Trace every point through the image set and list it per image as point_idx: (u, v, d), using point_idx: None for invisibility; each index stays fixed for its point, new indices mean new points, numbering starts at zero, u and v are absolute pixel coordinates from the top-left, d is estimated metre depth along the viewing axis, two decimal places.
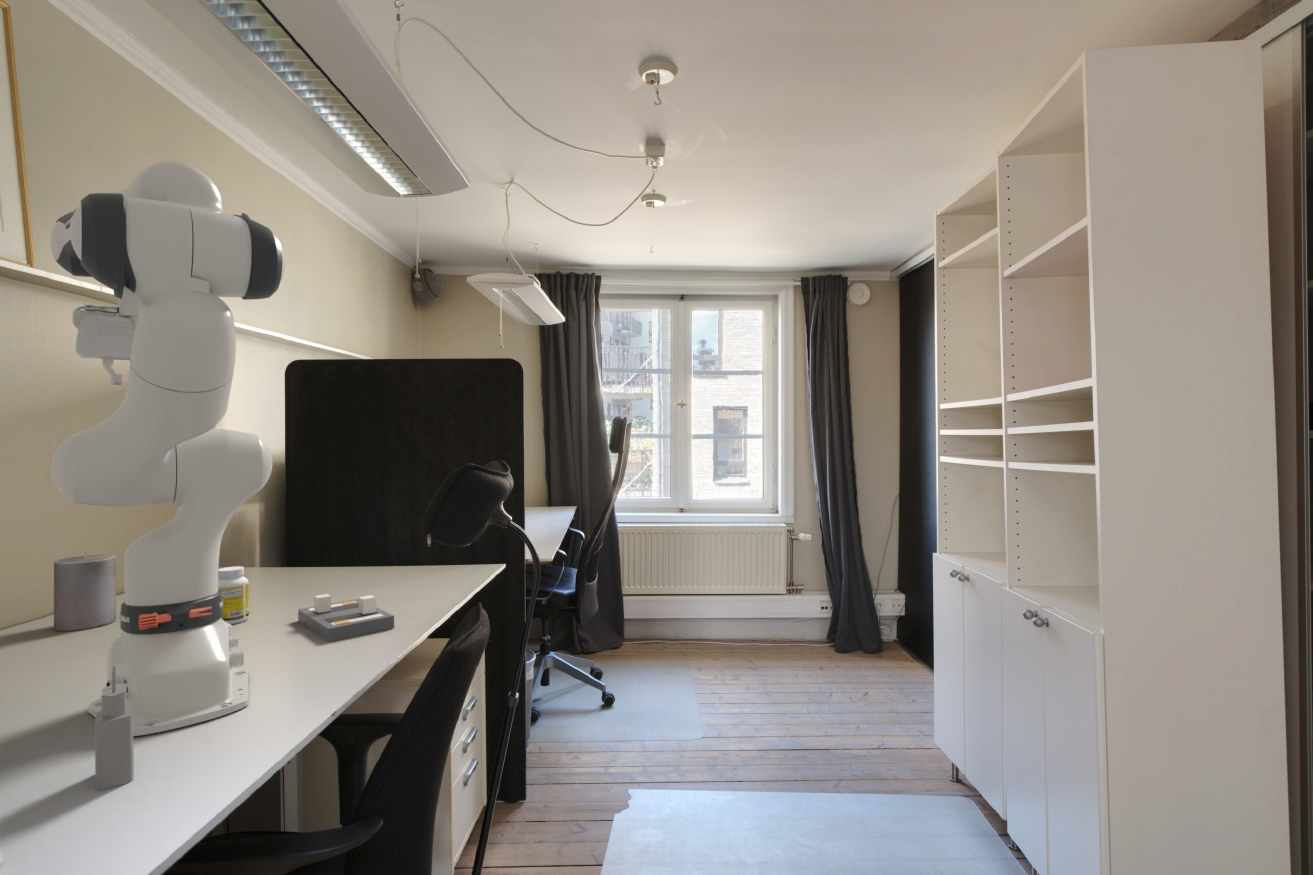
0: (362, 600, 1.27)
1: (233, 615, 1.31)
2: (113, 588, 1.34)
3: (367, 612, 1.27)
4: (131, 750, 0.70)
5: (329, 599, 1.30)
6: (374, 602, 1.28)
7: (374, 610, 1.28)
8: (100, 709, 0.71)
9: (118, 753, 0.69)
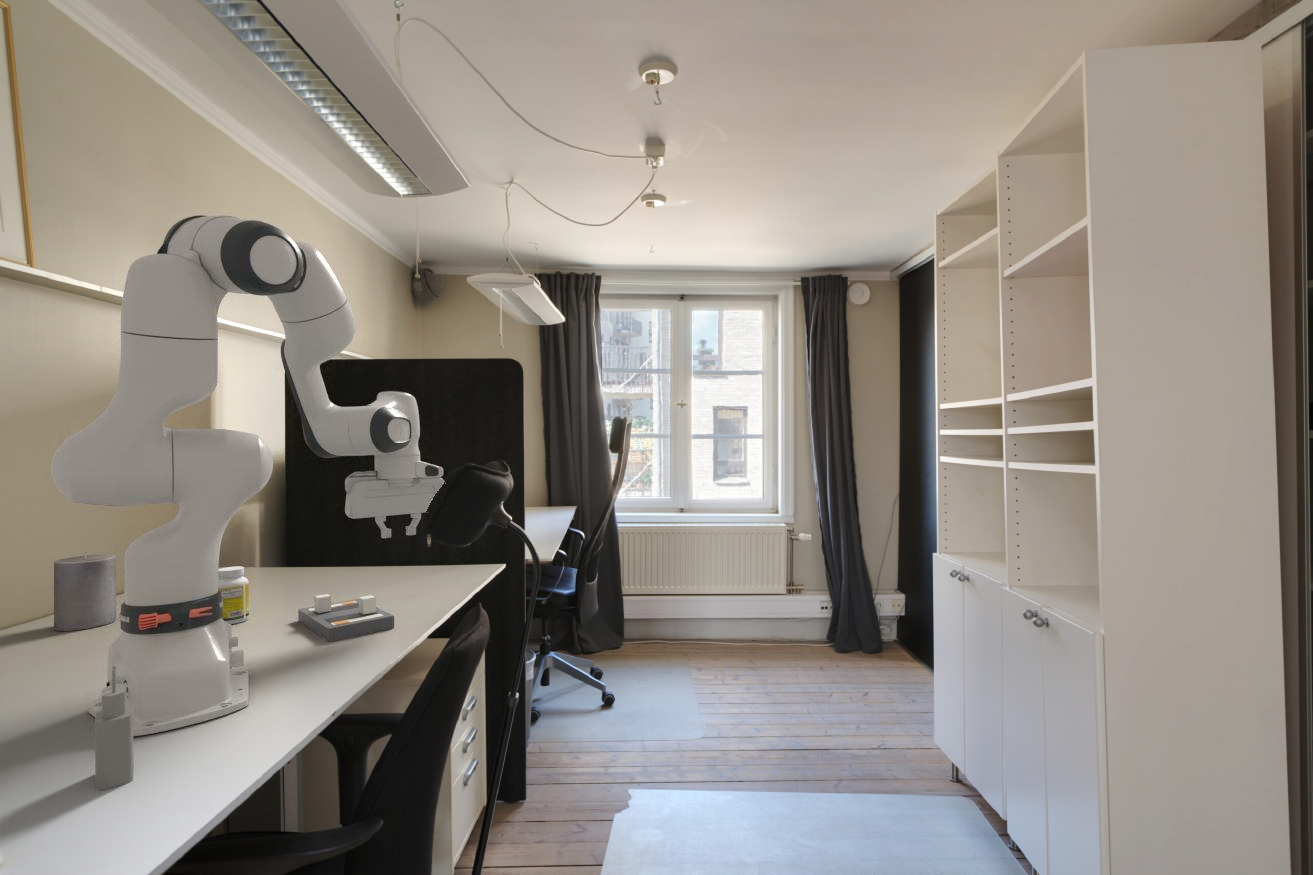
0: (362, 600, 1.27)
1: (233, 615, 1.31)
2: (113, 588, 1.34)
3: (367, 612, 1.27)
4: (131, 750, 0.70)
5: (329, 599, 1.30)
6: (374, 602, 1.28)
7: (374, 610, 1.28)
8: (100, 709, 0.71)
9: (118, 753, 0.69)
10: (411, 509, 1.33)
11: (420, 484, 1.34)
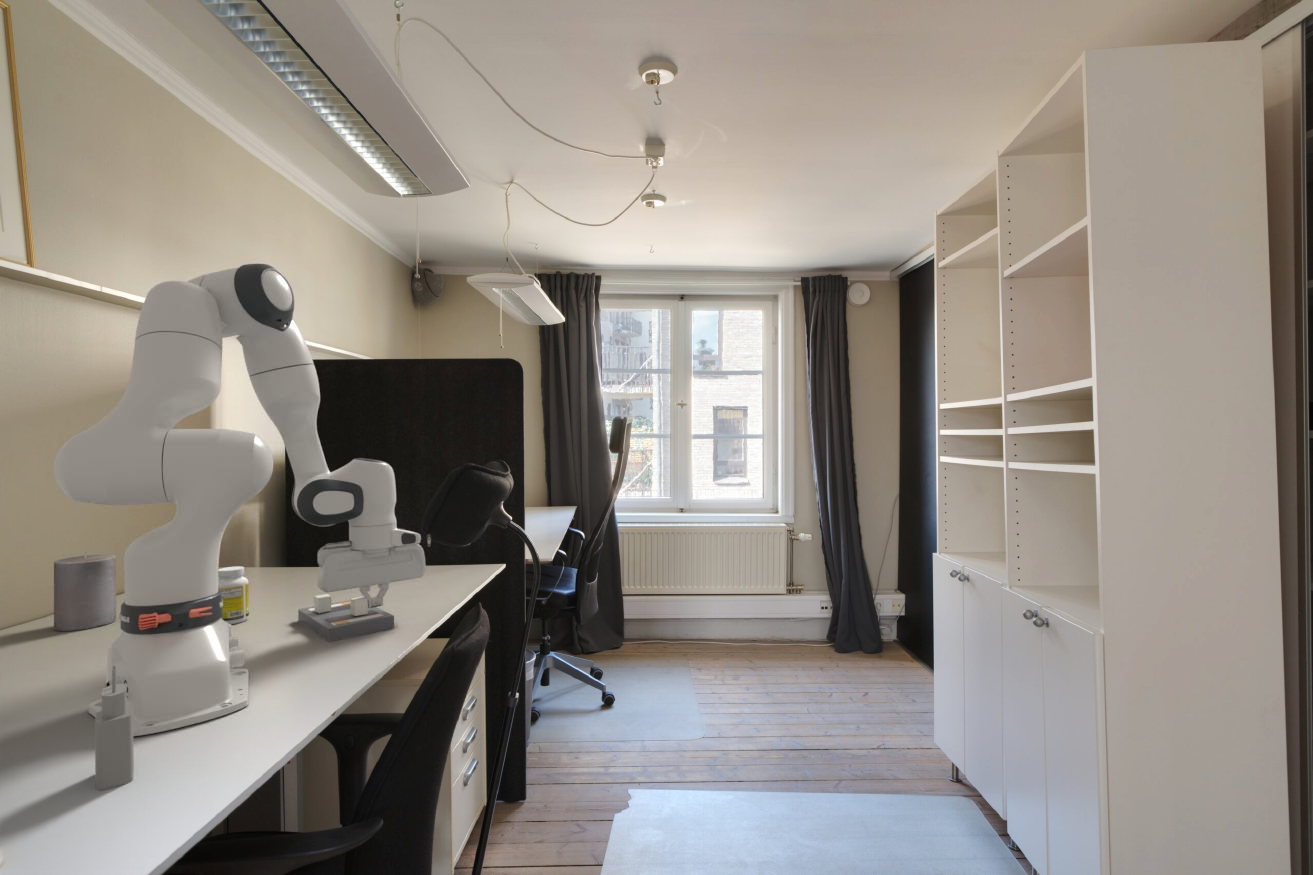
0: (354, 601, 1.26)
1: (233, 615, 1.31)
2: (113, 588, 1.34)
3: (359, 614, 1.26)
4: (131, 750, 0.70)
5: (329, 599, 1.30)
6: (366, 603, 1.27)
7: (366, 612, 1.27)
8: (100, 709, 0.71)
9: (118, 753, 0.69)
10: (387, 579, 1.29)
11: (396, 553, 1.30)
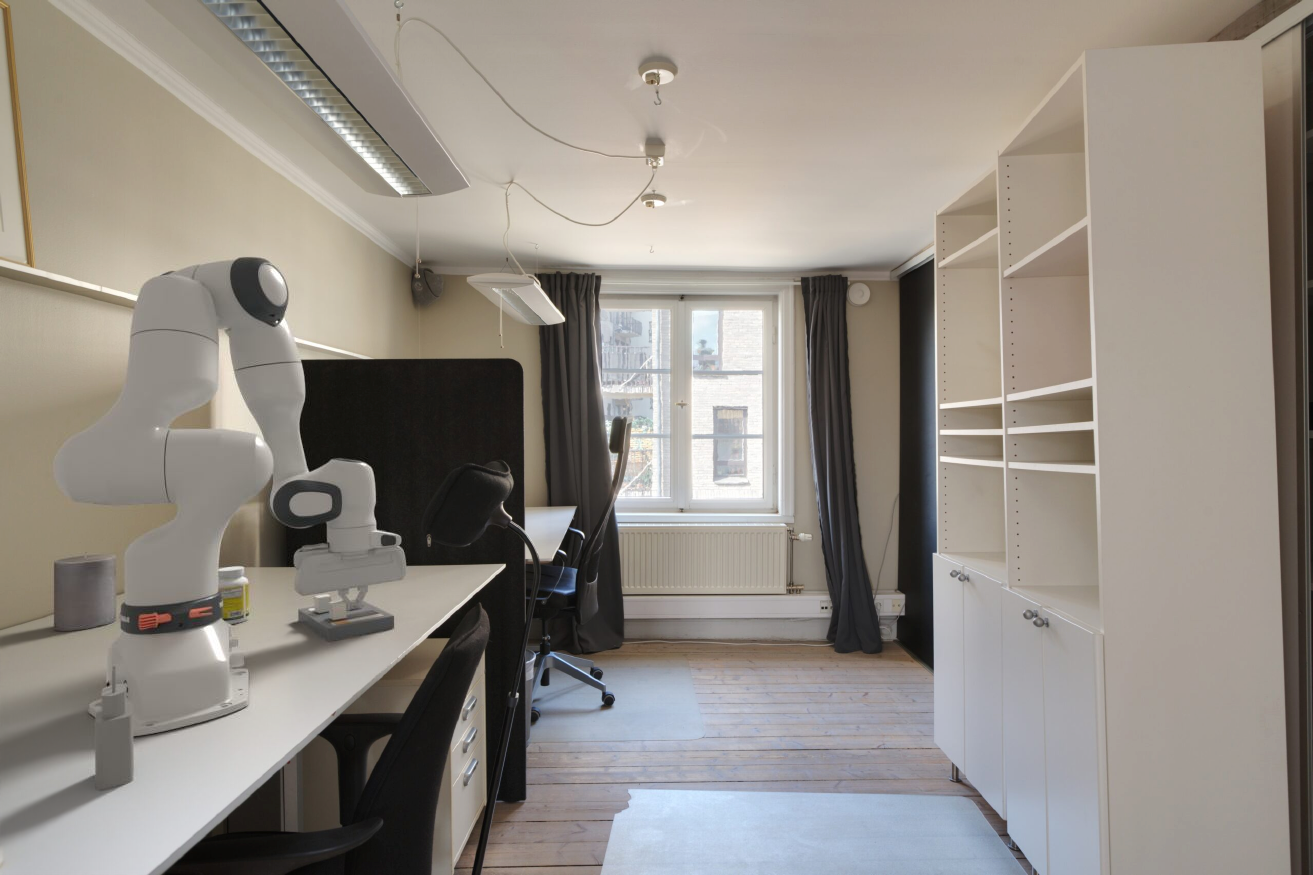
0: (332, 605, 1.23)
1: (233, 615, 1.31)
2: (113, 588, 1.34)
3: (337, 618, 1.23)
4: (131, 750, 0.70)
5: (329, 599, 1.30)
6: (345, 607, 1.24)
7: (345, 616, 1.24)
8: (100, 709, 0.71)
9: (118, 753, 0.69)
10: (366, 581, 1.27)
11: (376, 555, 1.28)
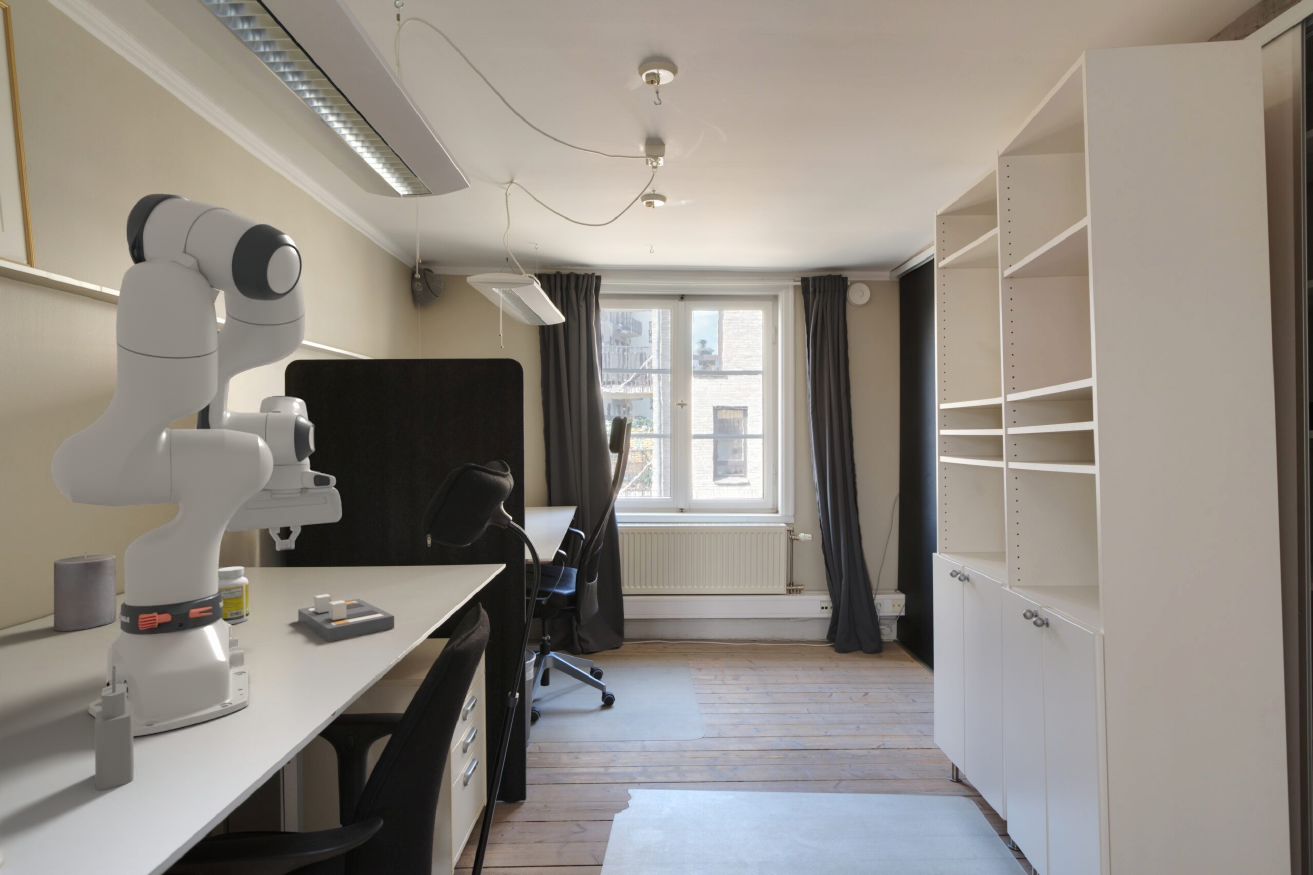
0: (332, 605, 1.23)
1: (233, 615, 1.31)
2: (113, 588, 1.34)
3: (337, 618, 1.23)
4: (131, 750, 0.70)
5: (329, 599, 1.30)
6: (344, 607, 1.24)
7: (344, 616, 1.24)
8: (100, 709, 0.71)
9: (118, 753, 0.69)
10: (298, 521, 1.26)
11: (309, 495, 1.27)
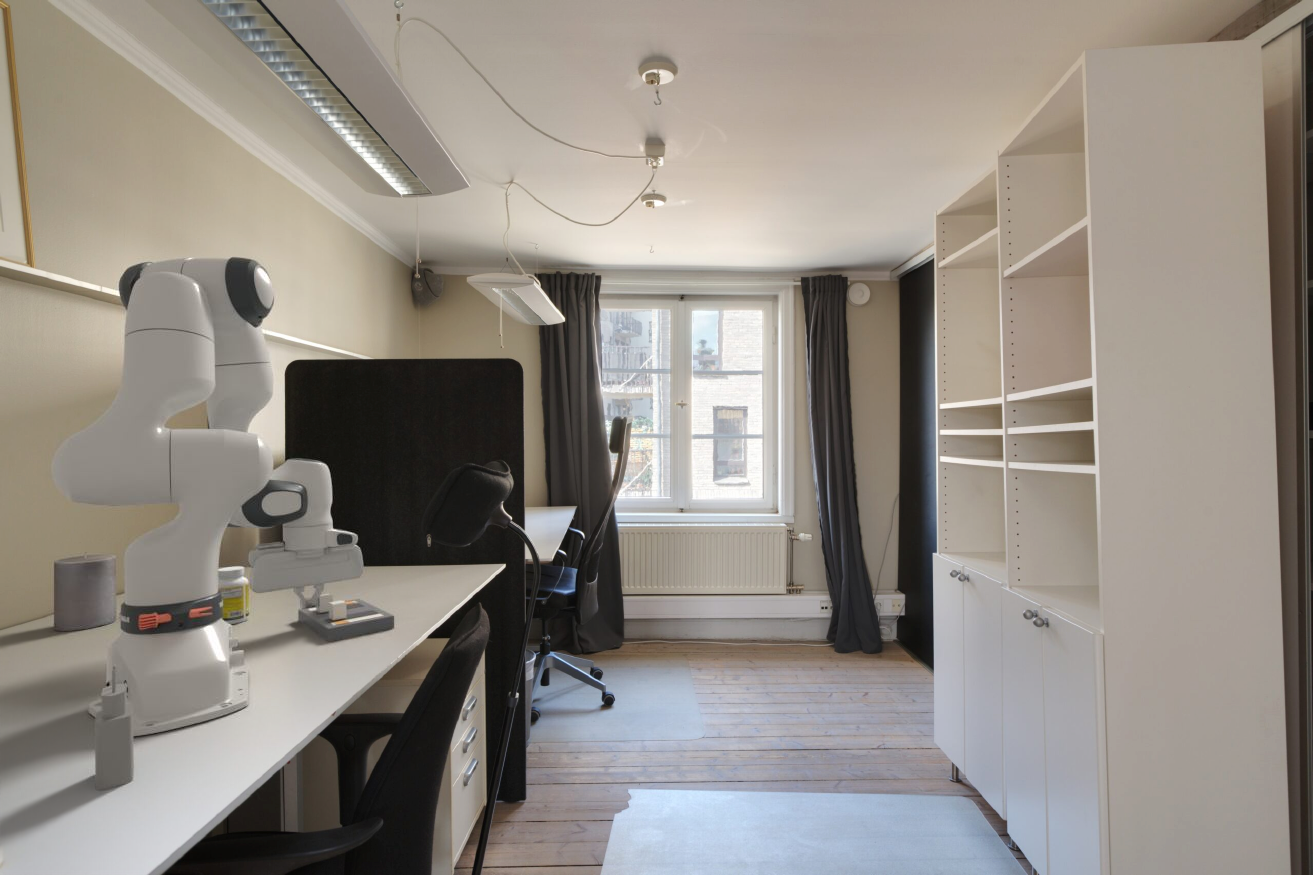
0: (332, 605, 1.23)
1: (233, 615, 1.31)
2: (113, 588, 1.34)
3: (337, 618, 1.23)
4: (131, 750, 0.70)
5: (331, 599, 1.30)
6: (344, 607, 1.24)
7: (344, 616, 1.24)
8: (100, 709, 0.71)
9: (118, 753, 0.69)
10: (322, 579, 1.29)
11: (332, 553, 1.30)
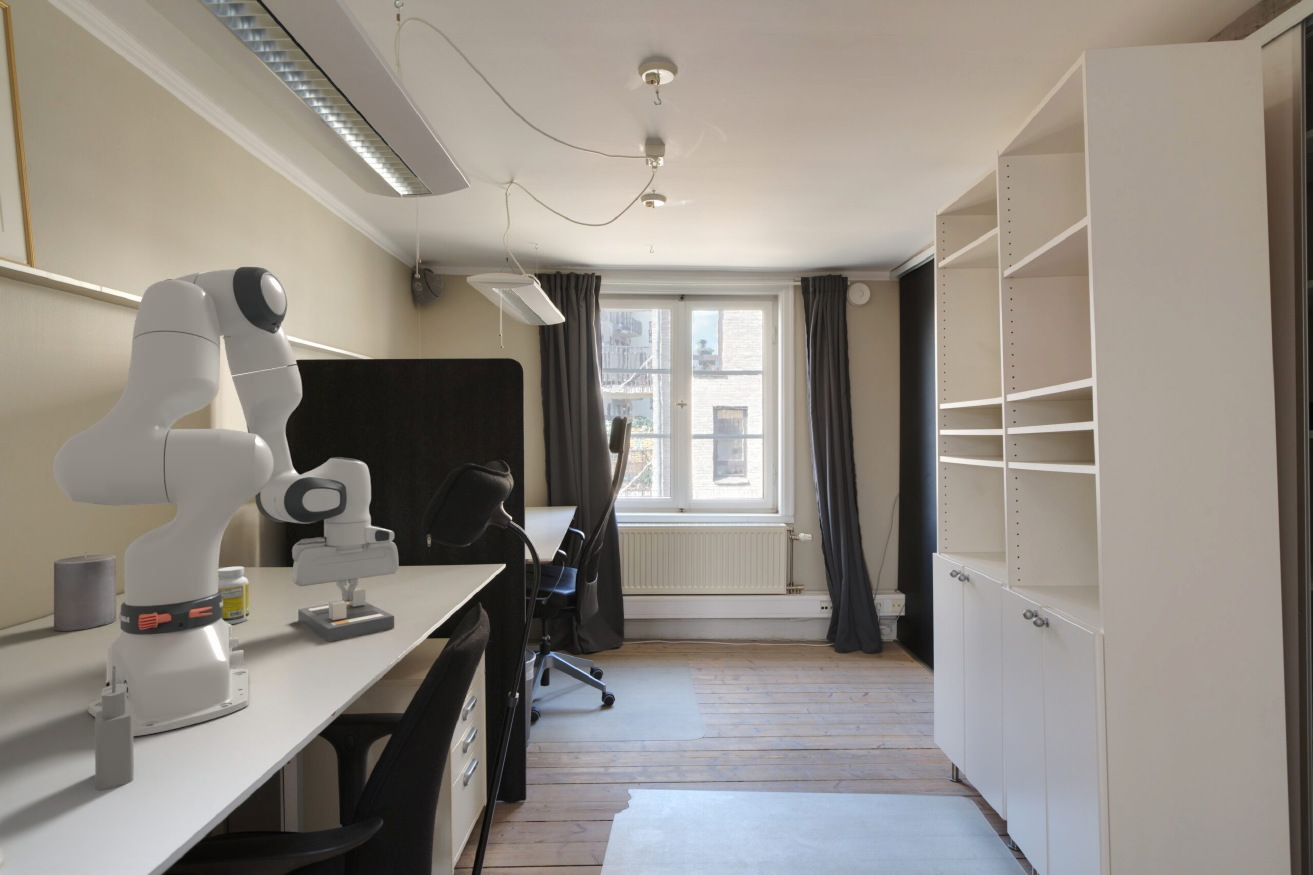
0: (332, 605, 1.23)
1: (233, 615, 1.31)
2: (113, 588, 1.34)
3: (337, 618, 1.23)
4: (131, 750, 0.70)
5: (363, 593, 1.34)
6: (344, 607, 1.24)
7: (344, 616, 1.24)
8: (100, 709, 0.71)
9: (118, 753, 0.69)
10: (360, 574, 1.34)
11: (370, 549, 1.35)
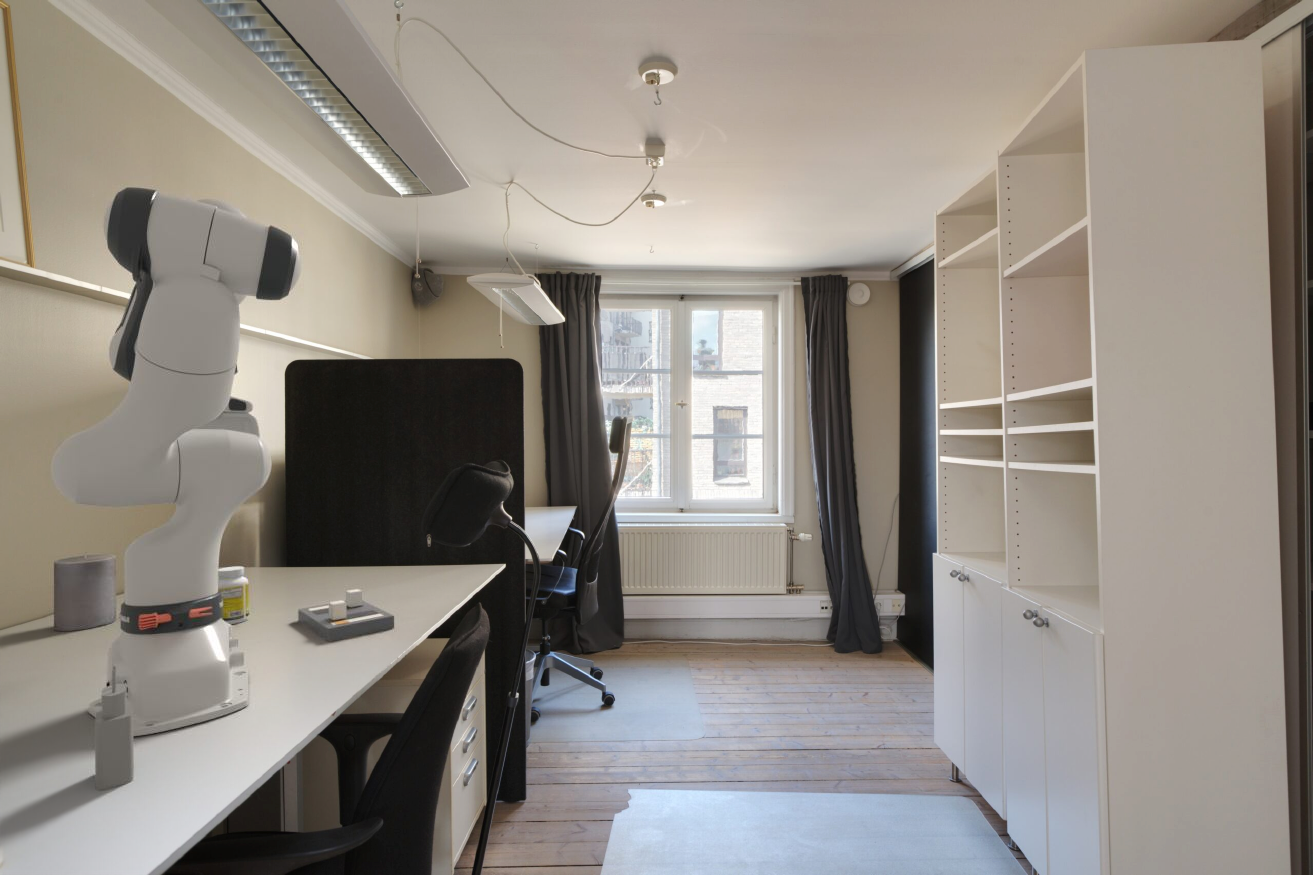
0: (332, 605, 1.23)
1: (233, 615, 1.31)
2: (113, 588, 1.34)
3: (337, 618, 1.23)
4: (131, 750, 0.70)
5: (360, 594, 1.34)
6: (344, 607, 1.24)
7: (344, 616, 1.24)
8: (100, 709, 0.71)
9: (118, 753, 0.69)
10: None
11: (224, 419, 1.26)
